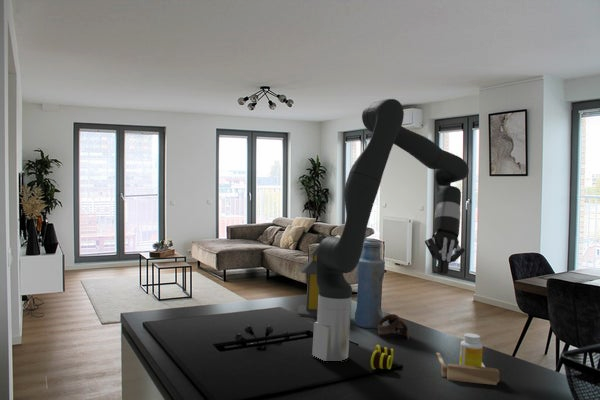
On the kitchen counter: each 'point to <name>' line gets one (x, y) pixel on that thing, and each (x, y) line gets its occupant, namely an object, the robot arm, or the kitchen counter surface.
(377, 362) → the opera glasses
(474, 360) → the supplement bottle
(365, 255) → the bottle
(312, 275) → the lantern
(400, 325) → the brown jagged curved piece
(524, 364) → the kitchen counter surface
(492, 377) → the bay
